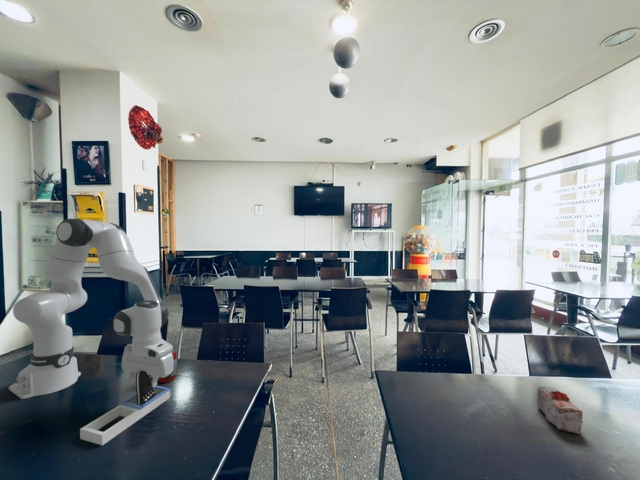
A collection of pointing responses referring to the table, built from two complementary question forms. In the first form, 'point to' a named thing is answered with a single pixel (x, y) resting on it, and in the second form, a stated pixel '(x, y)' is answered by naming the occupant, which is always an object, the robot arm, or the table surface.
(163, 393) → the tray
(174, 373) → the beverage can
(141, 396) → the battery charger
